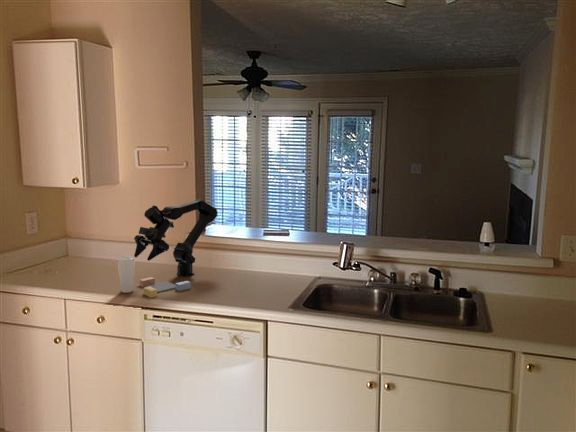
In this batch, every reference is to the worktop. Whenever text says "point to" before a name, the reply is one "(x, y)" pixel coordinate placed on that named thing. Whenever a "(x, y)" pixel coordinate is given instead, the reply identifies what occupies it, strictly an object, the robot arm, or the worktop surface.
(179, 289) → the brick slate blue
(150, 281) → the brick terracotta
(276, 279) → the worktop surface
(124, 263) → the drinking glass
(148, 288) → the brick mustard
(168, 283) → the slate coaster
